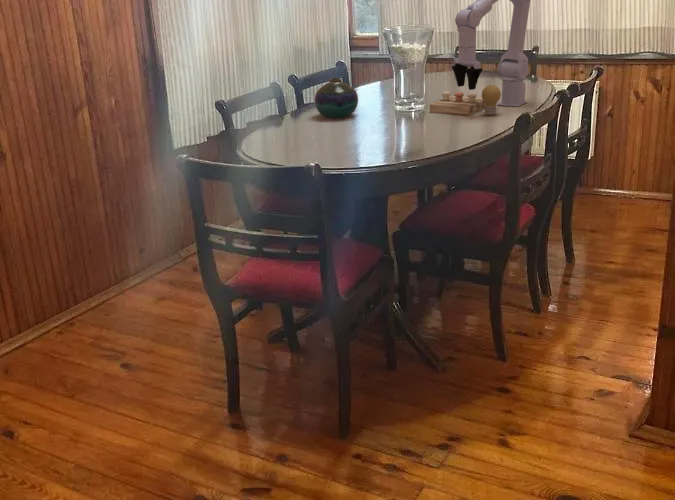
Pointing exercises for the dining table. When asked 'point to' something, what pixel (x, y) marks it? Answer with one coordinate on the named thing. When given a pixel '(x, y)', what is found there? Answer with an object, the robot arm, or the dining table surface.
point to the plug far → (446, 95)
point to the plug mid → (458, 96)
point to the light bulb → (491, 98)
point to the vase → (336, 99)
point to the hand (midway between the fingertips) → (466, 87)
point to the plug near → (471, 97)
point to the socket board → (457, 106)
